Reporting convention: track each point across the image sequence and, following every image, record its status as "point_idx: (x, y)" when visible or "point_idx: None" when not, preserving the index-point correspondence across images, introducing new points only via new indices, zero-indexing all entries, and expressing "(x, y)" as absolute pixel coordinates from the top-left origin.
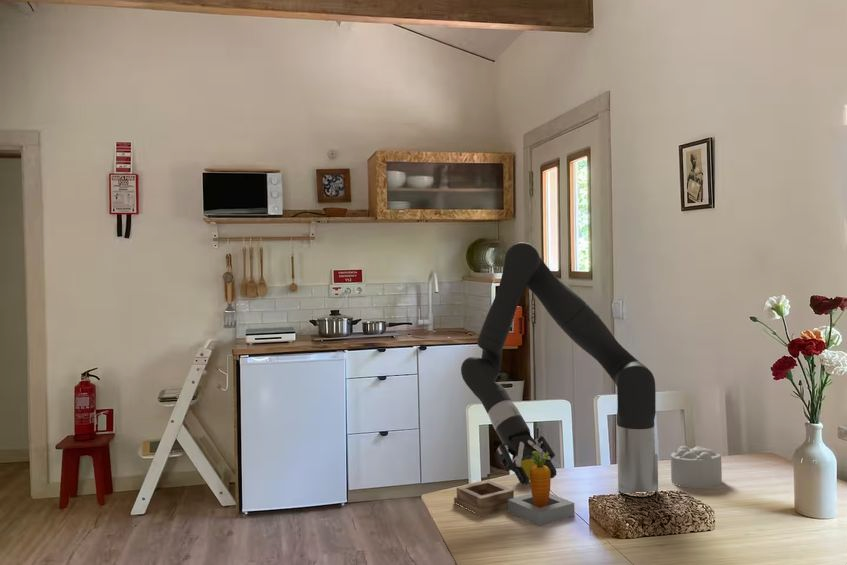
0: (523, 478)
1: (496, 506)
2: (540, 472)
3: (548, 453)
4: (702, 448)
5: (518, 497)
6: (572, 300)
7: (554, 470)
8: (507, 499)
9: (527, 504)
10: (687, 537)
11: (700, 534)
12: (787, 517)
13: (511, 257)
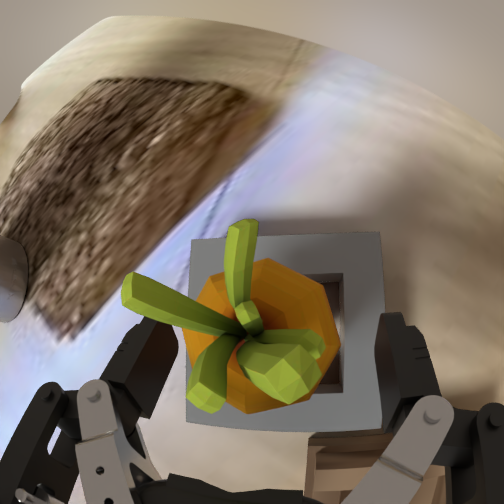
0: (412, 334)
1: None
2: (305, 277)
3: (133, 274)
4: None
5: (328, 424)
6: None
7: (142, 324)
8: (349, 455)
9: (358, 334)
10: (145, 64)
11: (122, 70)
12: (25, 98)
13: None
